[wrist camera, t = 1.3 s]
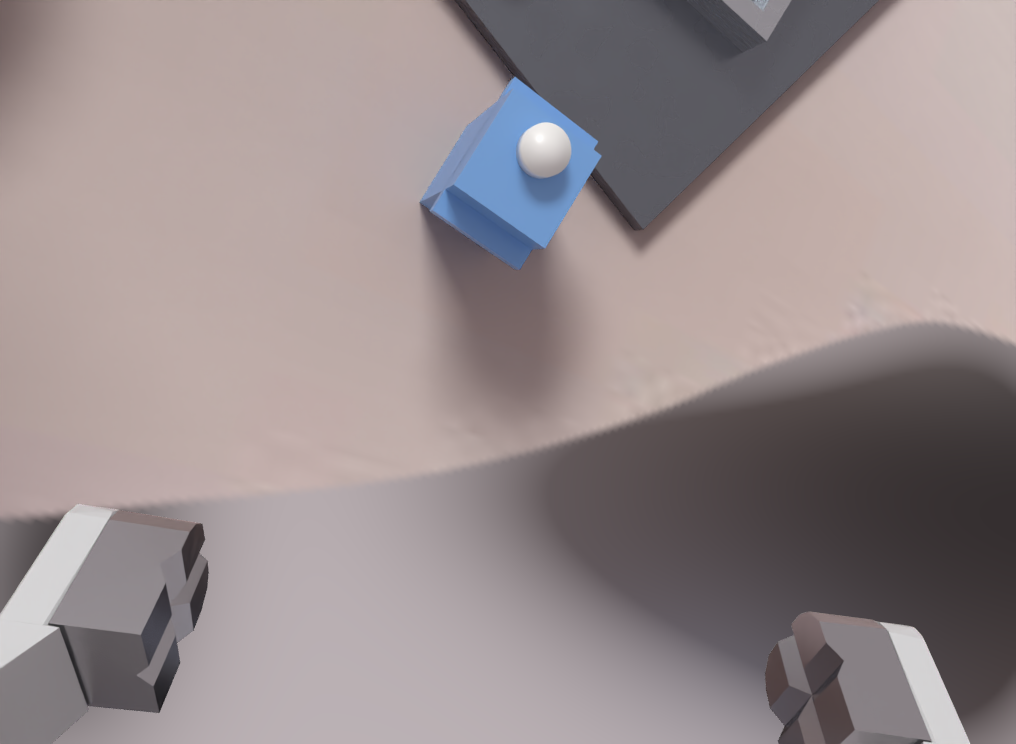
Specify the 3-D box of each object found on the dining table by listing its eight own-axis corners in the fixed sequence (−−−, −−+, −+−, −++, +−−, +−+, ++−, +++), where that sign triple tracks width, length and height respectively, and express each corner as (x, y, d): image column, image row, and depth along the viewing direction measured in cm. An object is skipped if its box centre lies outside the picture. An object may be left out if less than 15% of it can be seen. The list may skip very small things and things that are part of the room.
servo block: (408, 220, 36) (444, 204, 27) (477, 108, 36) (533, 60, 28) (482, 269, 37) (538, 269, 29) (548, 162, 37) (622, 131, 29)
